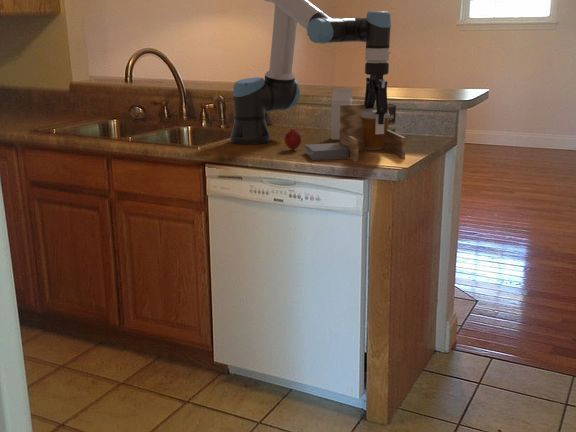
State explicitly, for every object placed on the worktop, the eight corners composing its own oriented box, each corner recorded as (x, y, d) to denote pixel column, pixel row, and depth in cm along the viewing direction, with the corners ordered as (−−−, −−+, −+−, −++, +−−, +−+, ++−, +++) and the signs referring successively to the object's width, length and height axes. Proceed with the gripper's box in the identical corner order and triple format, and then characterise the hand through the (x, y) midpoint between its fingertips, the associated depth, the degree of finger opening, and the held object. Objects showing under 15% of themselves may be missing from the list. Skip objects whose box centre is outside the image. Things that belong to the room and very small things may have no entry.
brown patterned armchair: (354, 161, 214) (355, 111, 209) (339, 151, 231) (339, 105, 226) (404, 158, 217) (406, 109, 212) (386, 148, 234) (387, 103, 229)
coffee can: (398, 145, 239) (400, 106, 235) (371, 146, 238) (372, 107, 234) (390, 140, 249) (391, 102, 245) (363, 141, 247) (364, 103, 243)
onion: (285, 148, 236) (285, 126, 234) (301, 148, 236) (301, 126, 234) (284, 151, 231) (283, 129, 229) (300, 151, 230) (300, 129, 228)
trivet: (313, 160, 216) (313, 151, 216) (305, 153, 228) (305, 144, 227) (348, 158, 219) (348, 149, 218) (338, 151, 230) (338, 142, 229)
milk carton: (350, 140, 250) (350, 89, 245) (331, 140, 252) (331, 89, 246) (352, 137, 257) (352, 87, 252) (333, 136, 259) (334, 87, 253)
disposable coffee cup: (355, 144, 223) (356, 108, 219) (382, 143, 225) (383, 107, 221) (365, 150, 214) (366, 112, 210) (392, 148, 216) (394, 111, 212)
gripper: (400, 64, 201) (397, 136, 208) (377, 59, 222) (374, 125, 229) (376, 64, 200) (374, 137, 207) (355, 59, 221) (354, 126, 227)
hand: (374, 131), depth 218 cm, fingers closed on disposable coffee cup, 9 cm apart
